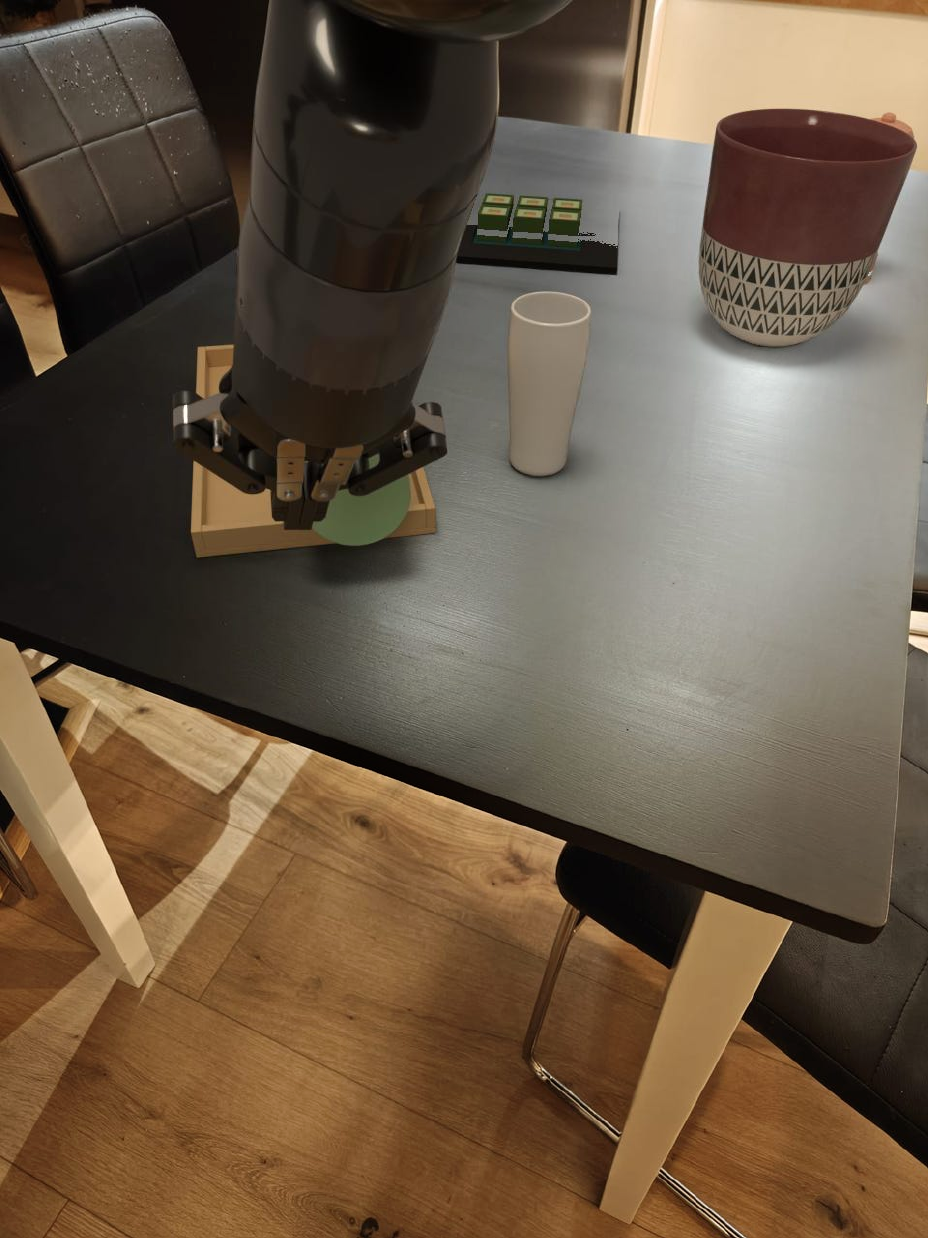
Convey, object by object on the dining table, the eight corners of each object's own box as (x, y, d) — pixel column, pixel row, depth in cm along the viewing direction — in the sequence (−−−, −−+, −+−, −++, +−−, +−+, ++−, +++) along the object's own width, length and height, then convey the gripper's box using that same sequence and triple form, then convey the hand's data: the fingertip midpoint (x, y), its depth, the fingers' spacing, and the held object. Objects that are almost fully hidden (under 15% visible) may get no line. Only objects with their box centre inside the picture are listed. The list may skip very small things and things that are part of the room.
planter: (821, 392, 95) (890, 175, 81) (651, 344, 103) (687, 137, 88) (869, 326, 108) (936, 128, 93) (714, 288, 115) (754, 98, 101)
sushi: (619, 210, 136) (622, 183, 133) (616, 274, 118) (620, 245, 115) (454, 199, 138) (455, 173, 136) (427, 260, 120) (427, 231, 117)
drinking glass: (586, 475, 83) (607, 318, 73) (519, 489, 81) (530, 330, 71) (554, 438, 87) (569, 285, 77) (489, 451, 85) (496, 296, 75)
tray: (196, 558, 73) (190, 532, 71) (202, 369, 96) (197, 346, 95) (435, 533, 76) (435, 507, 74) (384, 356, 99) (383, 333, 98)
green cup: (292, 447, 63) (293, 389, 74) (304, 550, 68) (304, 481, 79) (408, 439, 64) (392, 383, 75) (413, 541, 69) (398, 474, 80)
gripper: (152, 375, 30) (169, 579, 46) (521, 394, 34) (421, 576, 50) (151, 202, 33) (167, 451, 48) (494, 237, 37) (407, 457, 52)
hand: (296, 514), depth 49 cm, fingers closed
